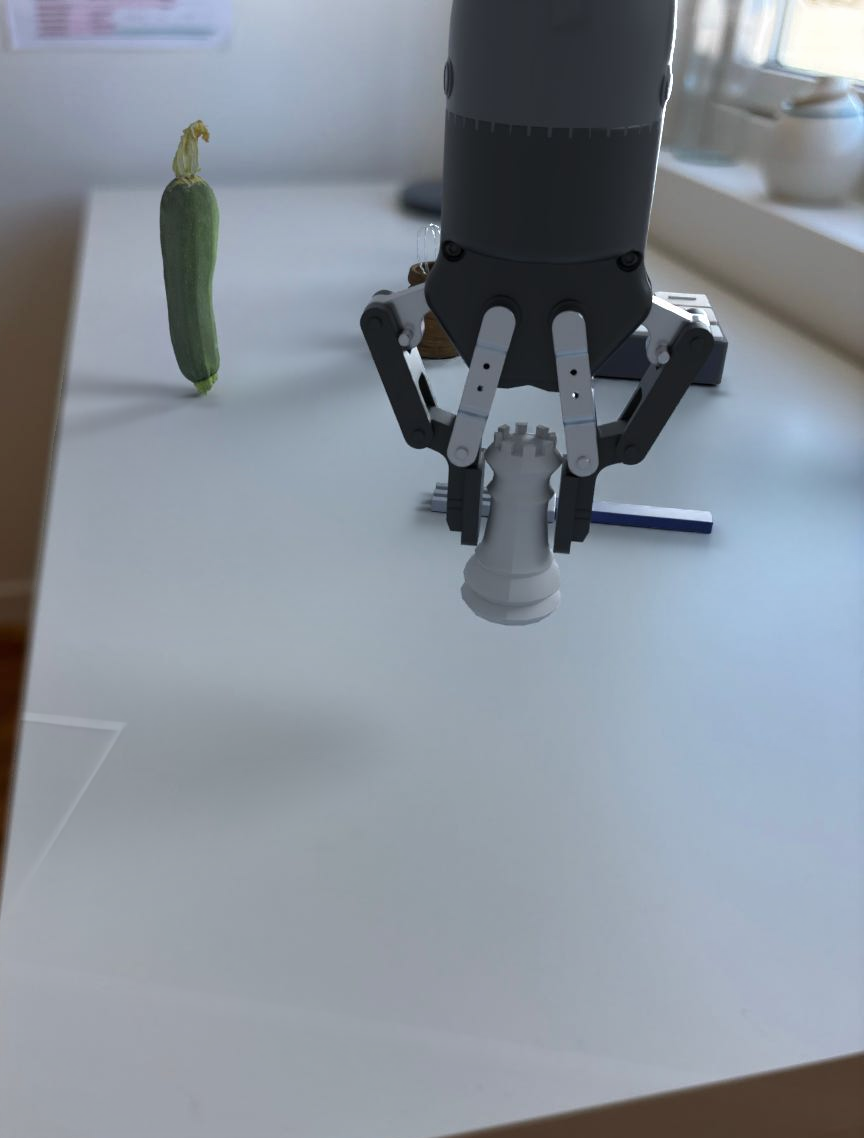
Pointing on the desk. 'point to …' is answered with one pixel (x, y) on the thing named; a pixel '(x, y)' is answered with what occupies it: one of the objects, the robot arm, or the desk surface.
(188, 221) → the vegetable
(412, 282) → the utensil holder
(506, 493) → the rook chess piece
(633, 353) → the calculator
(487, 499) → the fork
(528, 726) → the desk surface
